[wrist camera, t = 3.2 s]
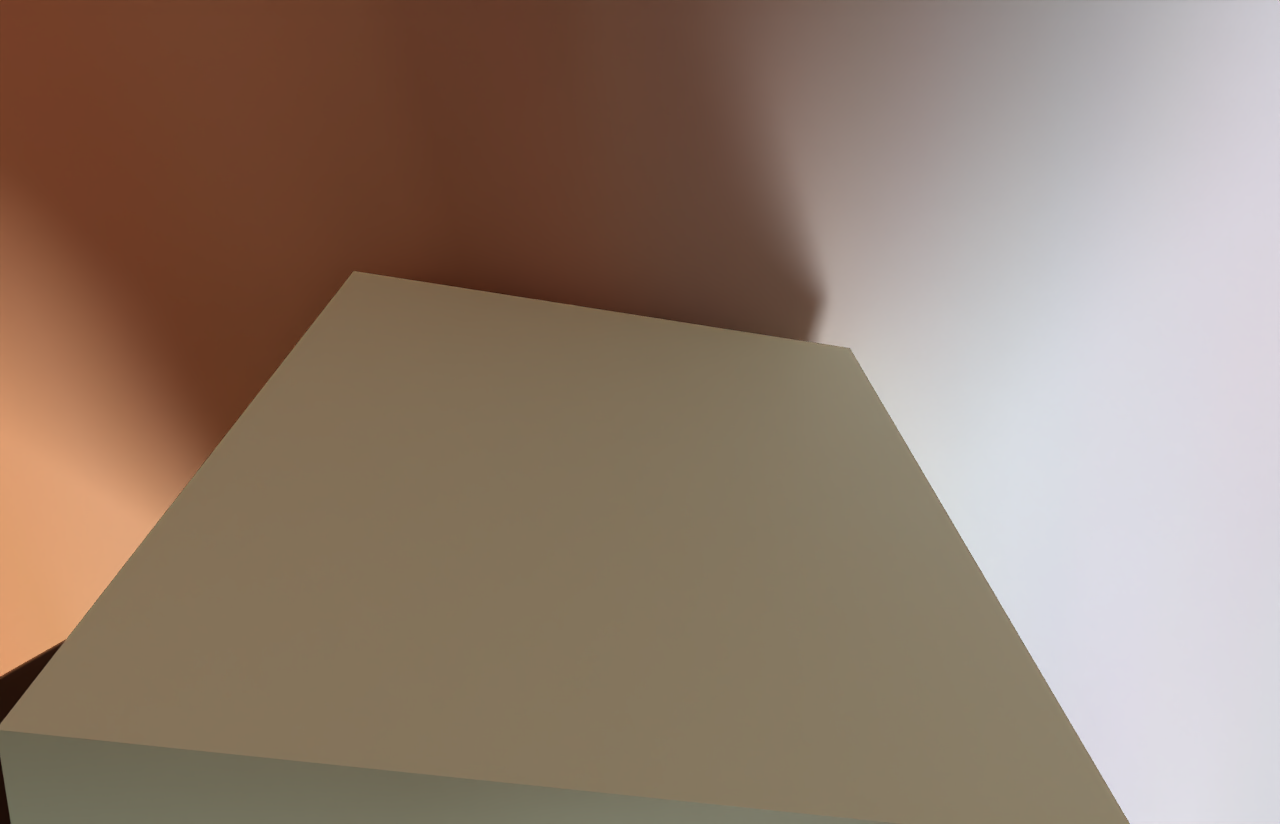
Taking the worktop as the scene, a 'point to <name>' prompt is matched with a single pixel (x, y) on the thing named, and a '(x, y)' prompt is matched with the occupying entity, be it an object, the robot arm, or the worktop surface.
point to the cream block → (549, 599)
